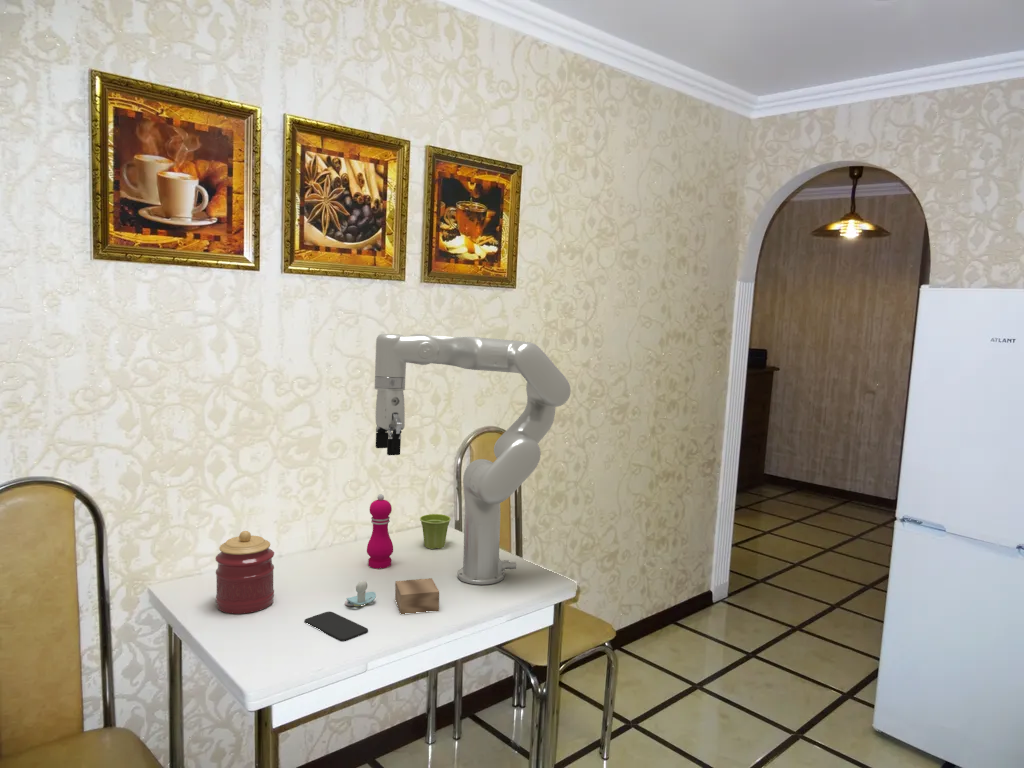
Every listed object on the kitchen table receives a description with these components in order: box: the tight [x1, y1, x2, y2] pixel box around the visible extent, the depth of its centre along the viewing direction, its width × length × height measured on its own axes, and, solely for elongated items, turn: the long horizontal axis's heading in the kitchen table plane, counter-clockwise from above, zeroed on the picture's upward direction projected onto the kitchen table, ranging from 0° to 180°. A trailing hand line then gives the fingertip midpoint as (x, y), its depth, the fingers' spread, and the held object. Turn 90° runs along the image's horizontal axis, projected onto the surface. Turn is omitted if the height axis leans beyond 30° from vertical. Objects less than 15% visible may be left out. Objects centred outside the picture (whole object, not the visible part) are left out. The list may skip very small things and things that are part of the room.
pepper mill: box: [366, 493, 394, 570], centre depth 199 cm, size 7×7×20 cm
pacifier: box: [344, 579, 377, 607], centre depth 173 cm, size 7×6×6 cm
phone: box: [304, 611, 369, 642], centre depth 160 cm, size 7×1×15 cm
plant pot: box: [419, 513, 452, 550], centre depth 217 cm, size 9×9×9 cm
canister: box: [215, 530, 275, 615], centre depth 170 cm, size 13×13×18 cm
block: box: [394, 577, 440, 615], centre depth 173 cm, size 9×9×5 cm
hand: (387, 451), depth 181 cm, fingers open, 9 cm apart
